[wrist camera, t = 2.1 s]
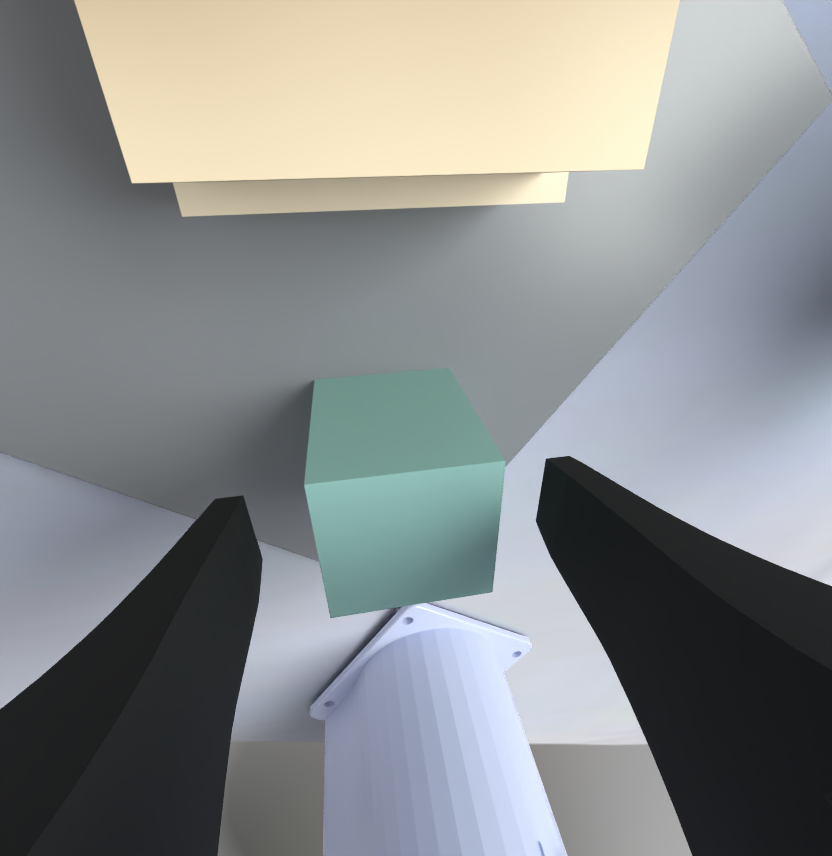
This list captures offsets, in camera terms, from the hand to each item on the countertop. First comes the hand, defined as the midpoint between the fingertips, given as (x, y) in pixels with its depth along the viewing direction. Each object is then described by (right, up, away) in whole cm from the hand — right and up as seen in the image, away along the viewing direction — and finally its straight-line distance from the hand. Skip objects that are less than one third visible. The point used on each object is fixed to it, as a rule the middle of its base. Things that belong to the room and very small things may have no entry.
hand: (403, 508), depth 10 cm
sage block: (-1, +2, +3) cm, 4 cm away
